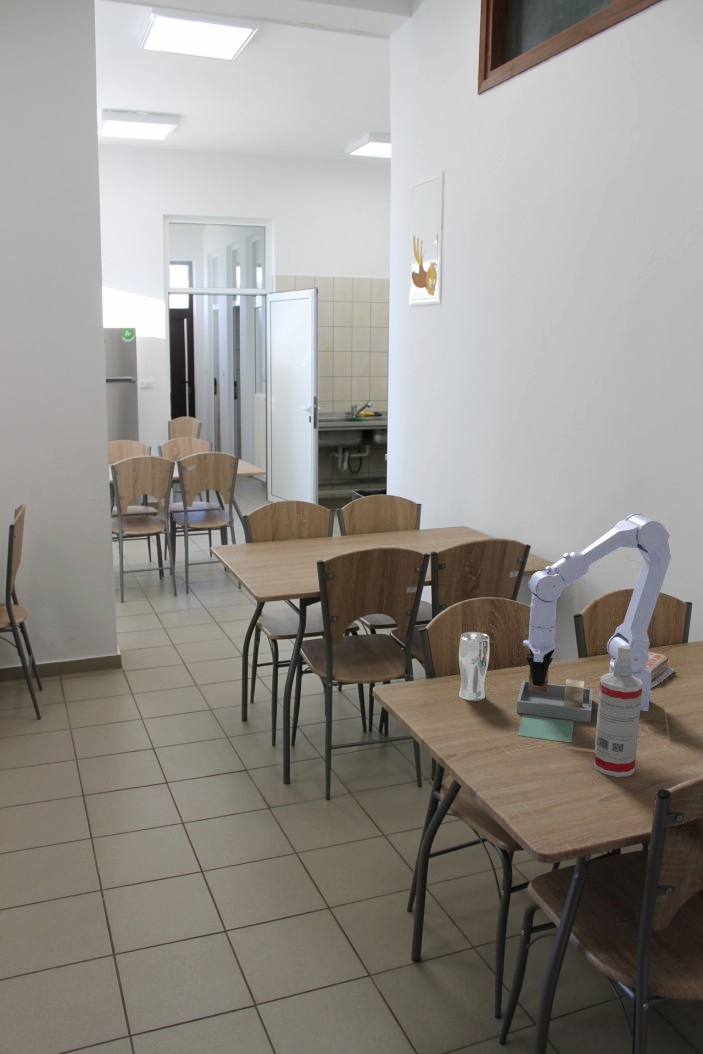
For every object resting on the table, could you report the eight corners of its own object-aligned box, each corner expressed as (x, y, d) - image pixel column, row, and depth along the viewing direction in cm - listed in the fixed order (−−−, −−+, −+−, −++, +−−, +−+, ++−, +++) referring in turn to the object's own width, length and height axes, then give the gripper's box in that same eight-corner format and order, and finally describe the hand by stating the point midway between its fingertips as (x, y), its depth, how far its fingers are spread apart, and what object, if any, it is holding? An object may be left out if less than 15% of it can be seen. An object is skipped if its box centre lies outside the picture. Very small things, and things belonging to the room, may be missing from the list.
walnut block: (547, 685, 204) (549, 660, 203) (546, 692, 200) (548, 666, 199) (530, 683, 205) (531, 658, 204) (528, 689, 201) (530, 664, 200)
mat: (573, 723, 194) (573, 721, 194) (571, 745, 184) (571, 742, 184) (522, 717, 197) (522, 714, 197) (517, 737, 187) (517, 735, 187)
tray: (591, 702, 206) (592, 689, 206) (590, 724, 194) (591, 710, 193) (522, 693, 211) (522, 680, 210) (516, 714, 198) (517, 701, 198)
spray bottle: (622, 780, 169) (633, 656, 164) (586, 767, 174) (596, 646, 169) (640, 767, 175) (652, 646, 170) (605, 754, 180) (615, 637, 175)
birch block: (582, 706, 203) (584, 681, 201) (581, 712, 199) (583, 687, 198) (564, 703, 204) (566, 679, 202) (563, 710, 200) (565, 685, 199)
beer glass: (491, 701, 205) (495, 640, 202) (464, 704, 203) (467, 642, 200) (479, 690, 212) (482, 630, 209) (452, 693, 210) (455, 632, 207)
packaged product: (638, 646, 232) (676, 655, 226) (636, 664, 233) (674, 673, 227) (610, 664, 218) (650, 675, 212) (609, 683, 219) (648, 693, 213)
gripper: (527, 613, 207) (524, 668, 210) (521, 632, 194) (517, 690, 197) (558, 616, 206) (554, 672, 208) (554, 635, 192) (550, 694, 195)
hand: (538, 681), depth 202 cm, fingers closed on walnut block, 4 cm apart
